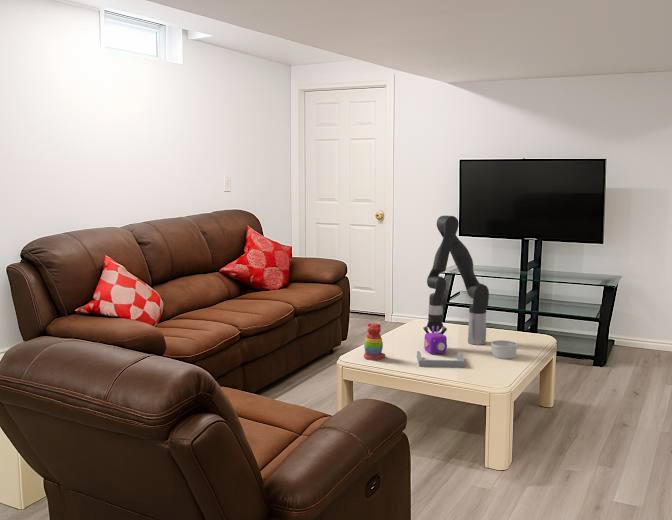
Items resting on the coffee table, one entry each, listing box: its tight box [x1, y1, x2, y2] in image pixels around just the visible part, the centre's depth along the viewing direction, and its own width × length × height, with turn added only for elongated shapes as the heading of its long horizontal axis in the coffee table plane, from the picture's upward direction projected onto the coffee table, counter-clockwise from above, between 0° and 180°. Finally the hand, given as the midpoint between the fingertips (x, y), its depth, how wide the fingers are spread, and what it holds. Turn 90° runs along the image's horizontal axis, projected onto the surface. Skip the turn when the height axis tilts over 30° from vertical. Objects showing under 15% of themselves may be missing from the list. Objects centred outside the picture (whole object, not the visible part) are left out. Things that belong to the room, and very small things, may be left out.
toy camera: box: [423, 331, 448, 355], centre depth 365 cm, size 11×14×10 cm
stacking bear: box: [363, 322, 387, 361], centre depth 354 cm, size 11×10×18 cm
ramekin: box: [490, 339, 519, 360], centre depth 360 cm, size 13×13×7 cm
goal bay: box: [416, 350, 466, 368], centre depth 348 cm, size 22×16×3 cm
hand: (434, 344), depth 376 cm, fingers closed
